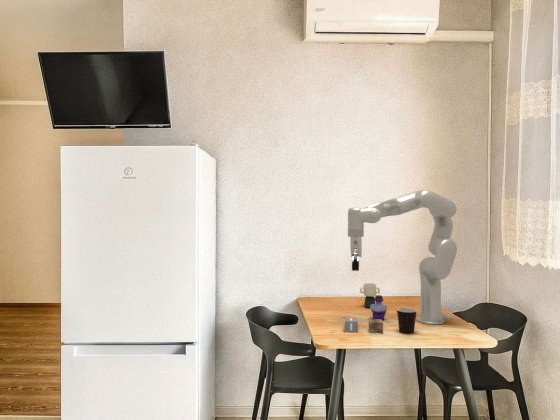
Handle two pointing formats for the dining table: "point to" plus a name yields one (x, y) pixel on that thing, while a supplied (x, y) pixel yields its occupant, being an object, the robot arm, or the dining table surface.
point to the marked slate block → (351, 325)
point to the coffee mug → (406, 320)
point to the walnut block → (376, 326)
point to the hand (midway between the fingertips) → (355, 269)
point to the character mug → (369, 293)
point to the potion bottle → (378, 308)
